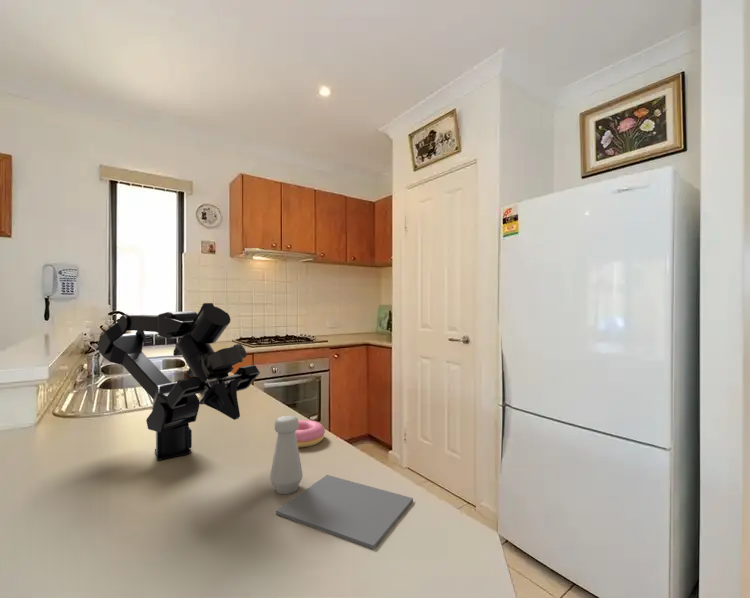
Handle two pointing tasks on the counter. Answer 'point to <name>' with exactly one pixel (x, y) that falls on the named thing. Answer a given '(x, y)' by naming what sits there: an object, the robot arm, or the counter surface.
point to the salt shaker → (286, 457)
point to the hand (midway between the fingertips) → (237, 418)
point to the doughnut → (309, 433)
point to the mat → (347, 510)
